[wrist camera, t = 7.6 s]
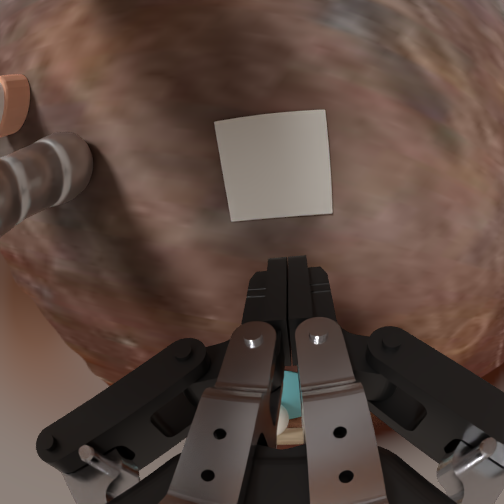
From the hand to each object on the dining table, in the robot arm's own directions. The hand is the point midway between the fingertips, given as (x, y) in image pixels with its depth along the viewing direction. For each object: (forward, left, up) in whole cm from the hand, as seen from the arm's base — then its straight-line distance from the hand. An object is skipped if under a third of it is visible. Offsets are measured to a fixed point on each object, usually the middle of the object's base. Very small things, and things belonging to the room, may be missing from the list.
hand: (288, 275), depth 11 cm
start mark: (-2, -1, -11) cm, 11 cm away
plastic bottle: (-6, -19, -11) cm, 22 cm away
